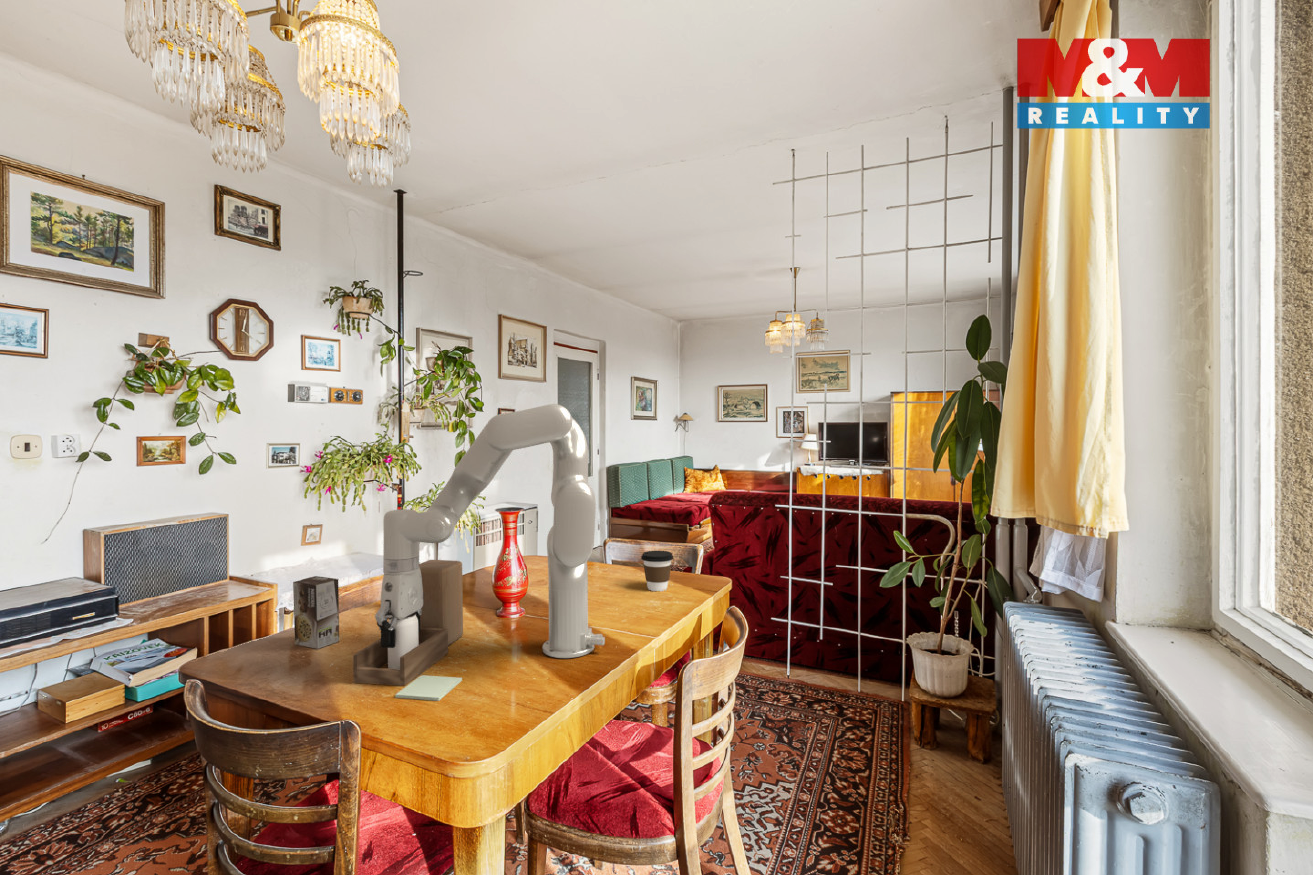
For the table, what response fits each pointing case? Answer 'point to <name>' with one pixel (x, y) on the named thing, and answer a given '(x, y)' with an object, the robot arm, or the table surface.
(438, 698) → the sage mat
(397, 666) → the can
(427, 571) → the block
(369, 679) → the walnut box
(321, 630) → the coffee box
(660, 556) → the coffee cup
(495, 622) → the table surface
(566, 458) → the robot arm
